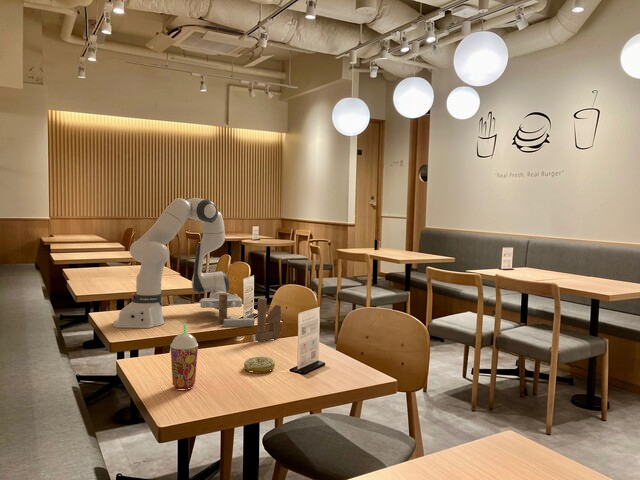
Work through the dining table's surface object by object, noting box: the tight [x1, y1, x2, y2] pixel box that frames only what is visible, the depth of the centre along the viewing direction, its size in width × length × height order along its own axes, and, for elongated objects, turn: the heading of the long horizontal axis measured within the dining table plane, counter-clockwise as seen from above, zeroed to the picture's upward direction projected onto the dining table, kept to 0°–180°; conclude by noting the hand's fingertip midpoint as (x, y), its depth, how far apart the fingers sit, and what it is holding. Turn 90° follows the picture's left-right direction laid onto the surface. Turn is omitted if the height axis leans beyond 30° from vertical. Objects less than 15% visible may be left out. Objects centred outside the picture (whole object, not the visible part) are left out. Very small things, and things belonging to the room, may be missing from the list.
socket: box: [223, 315, 255, 328], centre depth 253 cm, size 14×8×3 cm, turn 106°
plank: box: [218, 292, 228, 325], centre depth 255 cm, size 4×4×14 cm
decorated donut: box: [243, 356, 276, 373], centre depth 187 cm, size 10×11×4 cm
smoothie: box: [170, 323, 199, 390], centre depth 166 cm, size 8×8×20 cm
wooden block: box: [254, 297, 282, 342], centre depth 228 cm, size 4×11×18 cm, turn 133°
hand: (222, 305), depth 256 cm, fingers open, 8 cm apart
